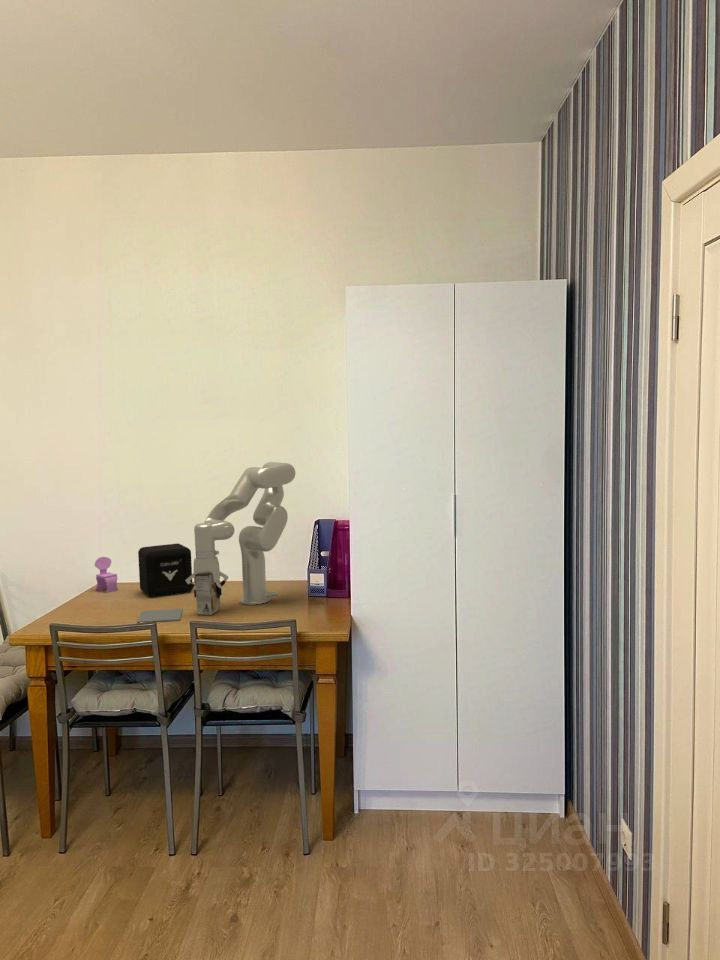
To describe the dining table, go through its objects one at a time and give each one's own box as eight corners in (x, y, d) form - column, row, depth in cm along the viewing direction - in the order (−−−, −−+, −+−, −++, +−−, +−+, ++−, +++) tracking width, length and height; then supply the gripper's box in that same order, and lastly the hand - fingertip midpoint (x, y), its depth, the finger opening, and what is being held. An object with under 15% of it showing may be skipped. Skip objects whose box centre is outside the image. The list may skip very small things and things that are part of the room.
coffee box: (205, 608, 320) (203, 569, 318) (220, 608, 318) (218, 569, 316) (196, 614, 311) (194, 574, 309) (212, 614, 309) (209, 574, 307)
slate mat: (182, 609, 319) (182, 608, 319) (180, 620, 304) (180, 619, 303) (141, 612, 317) (141, 610, 317) (137, 623, 301) (137, 621, 301)
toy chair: (104, 593, 349) (102, 560, 348) (93, 591, 355) (91, 558, 353) (120, 590, 356) (118, 557, 354) (109, 587, 361) (107, 555, 360)
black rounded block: (147, 599, 338) (145, 552, 336) (139, 592, 351) (137, 547, 349) (194, 592, 348) (192, 547, 346) (184, 586, 361) (182, 542, 358)
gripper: (228, 551, 317) (230, 594, 319) (183, 554, 314) (186, 597, 316) (227, 555, 309) (230, 598, 311) (182, 558, 307) (185, 602, 309)
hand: (208, 597), depth 314 cm, fingers closed on coffee box, 8 cm apart
